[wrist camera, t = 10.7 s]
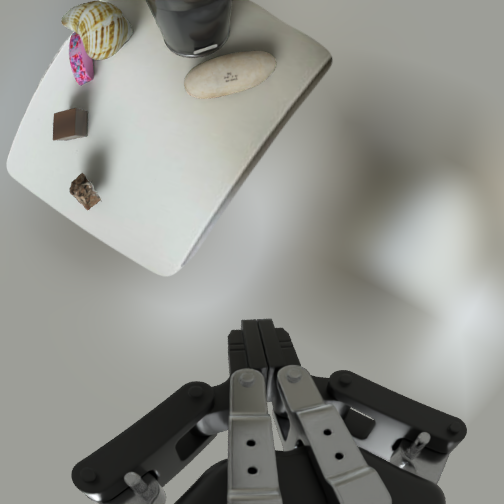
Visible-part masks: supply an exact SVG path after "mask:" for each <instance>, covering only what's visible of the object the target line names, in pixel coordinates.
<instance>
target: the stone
mask: <svg viewBox="0 0 504 504" xmlns="http://www.w3.org/2000/svg"><path fill="white" fill-rule="evenodd" d="M275 68H276V60H275V58H274V57H273V56H272V55H271V54H269V53H267V52H264V51H245V52H238V53H232V54H227V55H222V56H219V57H216V58H213V59H210V60H208V61H205V62H203V63H201V64H199V65H198V66H196V67H194V68H193V69H192V70H191V71H190V72H189V73H188V74H187V75H186V77H185V81H184V86H185V89H186V91H187V93H188V94H189V95H191V96H193V97H196V98H201V99H206V98H216V97H221V96H225V95H229V94H233V93H237V92H241V91H244V90H247V89H250V88H252V87H255V86H256V85H259V84H260V83H262V82H263V81H265V80H266V79H267V78H268V77H269V76H270V75H271V74H272V73H273V71H274V70H275Z"/></svg>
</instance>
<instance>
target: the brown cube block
mask: <svg viewBox="0 0 504 504" xmlns="http://www.w3.org/2000/svg"><path fill="white" fill-rule="evenodd" d="M87 120H88V111H86V110H82V109H78V108H73V109H69V110H65V111H62V112H58V113H54V123H53V140H71V139H76V138H81V137H86V136H87Z"/></svg>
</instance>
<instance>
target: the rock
mask: <svg viewBox="0 0 504 504" xmlns="http://www.w3.org/2000/svg"><path fill="white" fill-rule="evenodd" d="M91 183H92V182H91ZM91 183H90V181H88V180H87V178H86V176H85V175H84V174H83V173H81V174H80V175H79V176H78V177H77V178H76V179H75V180H74V181H73V182H72V183H71V187H70V193H71V194H72V195H73V196H74V197H75V198H76V199H77V200H78V201H79V203H81V204H82V205H83V206H84V207H85V209H87V210H89V209H90V208H91V207H93V206H94V205H95V204H97V203H98V202H99V201H100V200H101V199H100V197H99V196H98V194H97V192H96V191H95V190H94V188H93V184H92V185H91Z"/></svg>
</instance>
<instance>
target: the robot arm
mask: <svg viewBox="0 0 504 504" xmlns="http://www.w3.org/2000/svg"><path fill="white" fill-rule="evenodd" d="M146 2H147V4H148V6H149V8H150V10H151V13H152V15H153V17H154V19H155V21H156V23H157V25H158V27H159V29H160V31H161V33H162V35H163V37H164V41H165V43H166V45H167V47H168V48H169V49H170V50H171V51H172V52H173V53H175V54H177V55H179V56H183V57H188V58H197V57H203V56H206V55H209V54H211V53H213V52H215V51H217V50H218V49H219V48H221V47H222V46H223V45H224V43H225V42H226V41H227V39H228V36H229V32H230V17H231V8H232V0H146ZM228 360H229V373H230V377H229V378H228V380H227V381H226V382H224V383H222V384H220V385H217V386H214V387H211V386H210V385H208V384H206V383H204V382H197V381H196V382H189V383H187V384H185V385H184V386H182V387H181V388H180V389H179V390H177V391H176V392H175V393H173V394H172V395H171V396H170V397H168V398H167V399H166V400H165V401H163V402H162V403H161V404H159V405H158V406H157V407H156V408H154V409H153V410H152V411H150V412H149V413H148V414H146V415H145V416H144V417H143V418H141V419H140V420H138V421H137V422H136V423H134V424H133V425H132V426H130V427H129V428H128V429H126V430H125V431H124V432H122V433H121V434H119V435H118V436H117V437H115V438H114V439H112V440H111V441H110V442H108V443H107V444H105V445H104V446H102V447H101V448H99V449H98V450H97V451H95V452H94V453H92V454H91V455H89V456H88V457H86V458H85V459H83V460H82V461H80V462H79V463H77V464H76V465H75V466H74V468H73V470H72V480H73V483H74V484H75V486H76V487H77V488H78V489H79V490H81V491H82V492H83V493H84V494H85V495H86V496H87V497H88V498H90V499H91V500H92V501H94V502H95V503H96V504H164V503H165V501H166V494H165V491H164V490H163V488H162V487H163V486H164V485H165V484H167V483H168V482H169V481H170V480H171V479H172V478H173V477H174V476H176V474H178V473H179V472H180V471H181V470H182V469H183V468H184V467H185V466H186V465H187V464H189V463H190V462H191V461H192V460H193V459H194V458H195V457H196V456H197V455H198V454H199V453H200V452H201V451H202V450H203V449H204V448H205V447H206V446H207V445H208V444H209V443H210V442H211V441H212V440H213V439H214V438H215V437H216V436H217V433H219V432H223V431H226V430H228V459H225V460H222V461H220V462H218V463H216V464H214V465H213V466H211V467H210V468H209V469H207V470H206V471H205V472H204V473H203V474H202V475H201V477H200V478H199V479H198V480H197V481H196V482H195V483H194V484H193V485H192V486H191V487H190V488H189V489H188V490H187V491H186V492H185V493H184V494H183V496H181V497H180V498H179V499H178V500H177V501H176V502H175V503H174V504H446V501H445V496H444V493H443V491H442V490H441V488H440V487H439V486H438V485H437V483H438V481H439V478H440V476H441V474H442V472H443V469H444V467H445V464H446V462H447V459H448V456H449V454H450V453H451V452H452V451H453V449H454V448H455V447H456V446H457V445H458V444H459V443H460V442H461V441H462V440H463V439H464V438H465V436H466V433H467V428H466V425H465V423H464V422H463V421H462V420H461V419H459V418H457V417H454V416H451V415H449V414H446V413H444V412H441V411H439V410H436V409H434V408H431V407H429V406H426V405H424V404H421V403H419V402H417V401H414V400H412V399H409V398H407V397H405V396H403V395H400V394H398V393H396V392H393V391H391V390H389V389H387V388H385V387H382V386H380V385H378V384H376V383H374V382H372V381H370V380H367V379H365V378H363V377H361V376H359V375H357V374H355V373H353V372H351V371H347V370H340V371H336V372H334V373H333V374H332V375H331V376H330V378H323V377H315V376H312V375H310V373H309V372H308V371H307V370H306V369H305V368H303V367H301V364H300V362H299V359H298V357H297V354H296V352H295V349H294V347H293V344H292V342H291V339H290V336H289V334H288V333H287V332H286V331H285V330H284V329H283V328H275V327H274V324H273V321H272V319H257V321H256V319H254V320H241V330H232V331H231V332H230V334H229V336H228ZM267 402H272V405H273V410H272V415H273V419H274V422H275V425H276V428H277V431H278V434H279V437H280V440H281V442H282V446H283V451H276V450H275V448H274V440H273V431H272V423H271V417H270V415H268V408H267ZM351 407H352V408H354V409H356V410H358V411H359V412H361V413H363V414H365V415H368V416H369V417H371V418H373V419H374V420H372V419H370V418H368V417H366V416H363V415H362V414H360V413H358V412H356V411H354V410H352V409H350V408H351ZM372 453H373V454H372ZM374 454H375V455H374ZM376 455H377V456H376ZM378 456H380V457H381V458H380V457H378ZM382 458H384V459H386V460H388V461H390V462H388V461H386V460H384V459H382Z"/></svg>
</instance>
